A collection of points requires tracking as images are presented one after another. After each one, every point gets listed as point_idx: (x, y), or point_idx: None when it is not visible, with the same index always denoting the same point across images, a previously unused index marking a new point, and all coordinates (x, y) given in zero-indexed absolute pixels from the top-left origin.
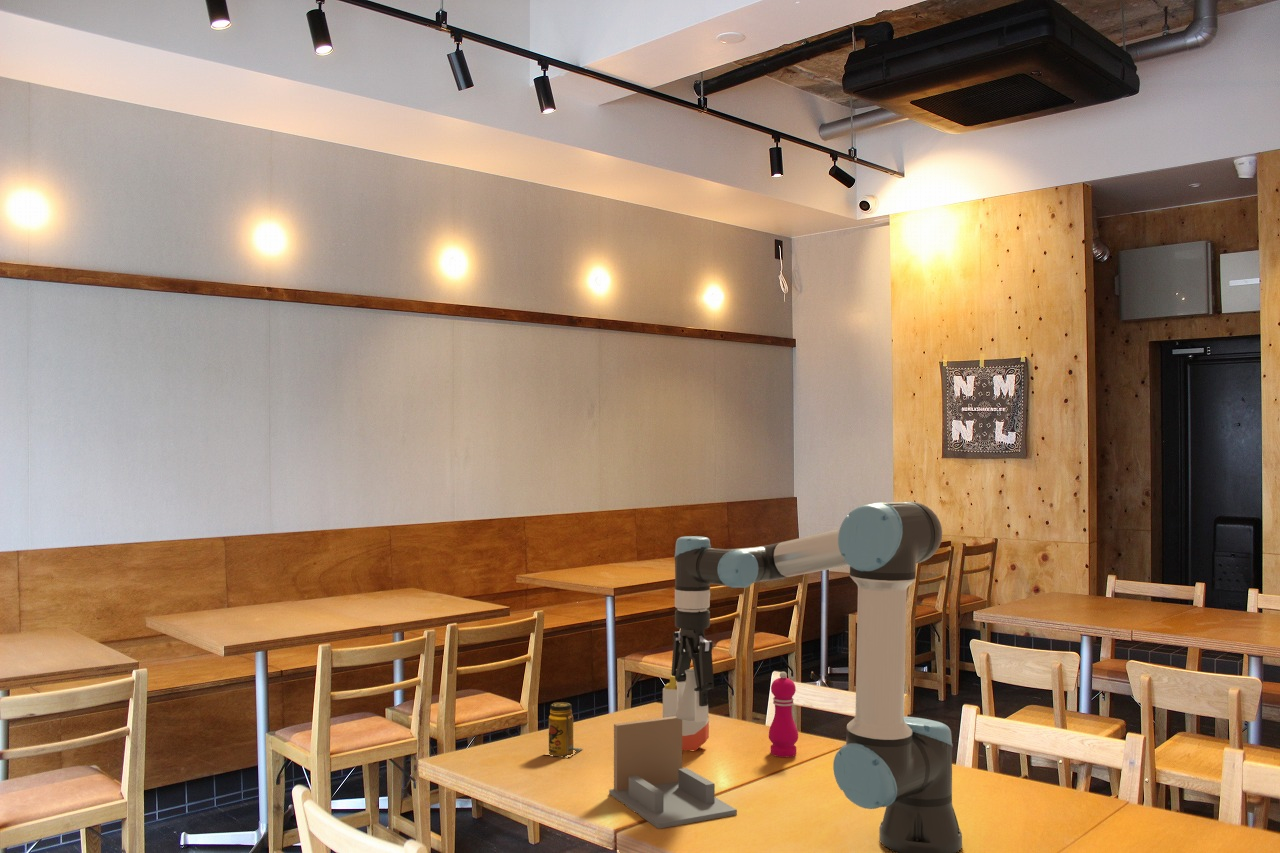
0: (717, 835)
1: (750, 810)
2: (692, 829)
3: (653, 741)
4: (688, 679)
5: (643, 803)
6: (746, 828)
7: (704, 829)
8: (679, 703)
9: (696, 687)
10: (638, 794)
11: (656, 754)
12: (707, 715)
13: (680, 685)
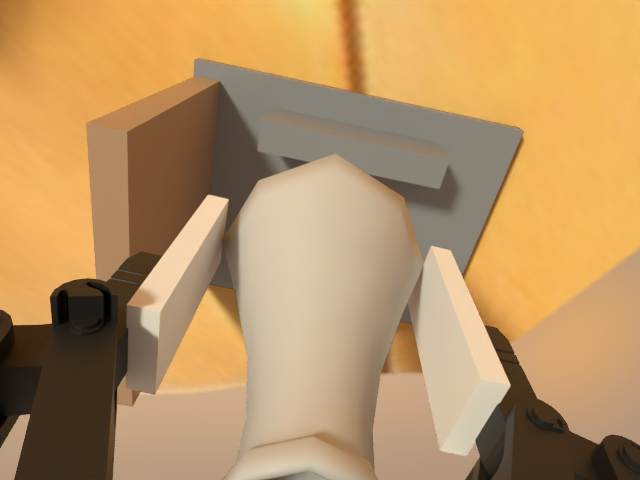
0: (565, 259)
1: (529, 67)
2: (495, 275)
3: (164, 236)
4: (317, 477)
5: None
6: (600, 179)
7: (517, 257)
8: (205, 284)
9: (377, 392)
10: None
11: (183, 204)
12: (456, 266)
13: (166, 361)
